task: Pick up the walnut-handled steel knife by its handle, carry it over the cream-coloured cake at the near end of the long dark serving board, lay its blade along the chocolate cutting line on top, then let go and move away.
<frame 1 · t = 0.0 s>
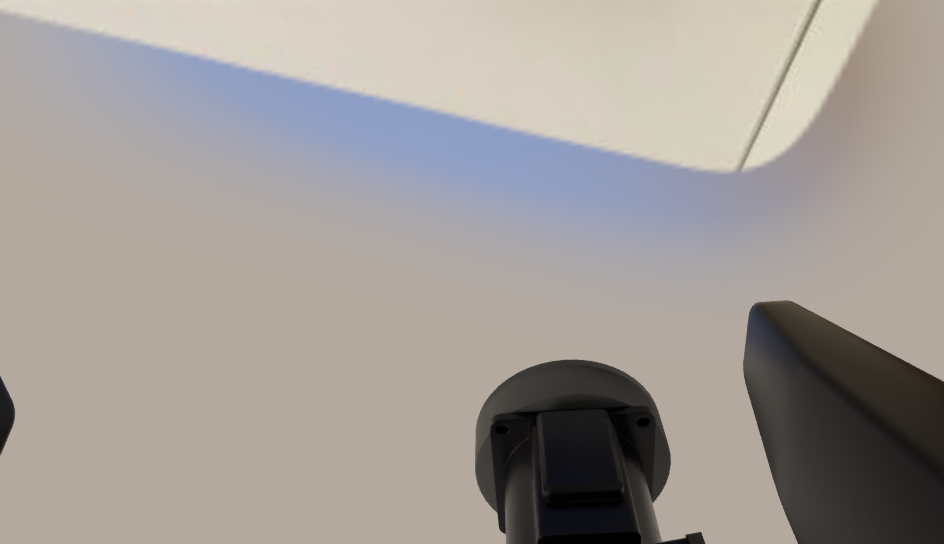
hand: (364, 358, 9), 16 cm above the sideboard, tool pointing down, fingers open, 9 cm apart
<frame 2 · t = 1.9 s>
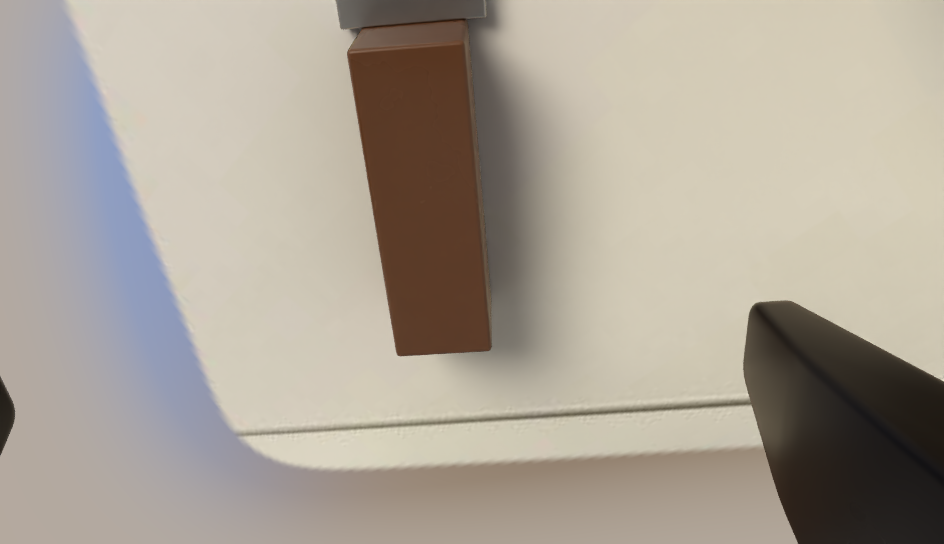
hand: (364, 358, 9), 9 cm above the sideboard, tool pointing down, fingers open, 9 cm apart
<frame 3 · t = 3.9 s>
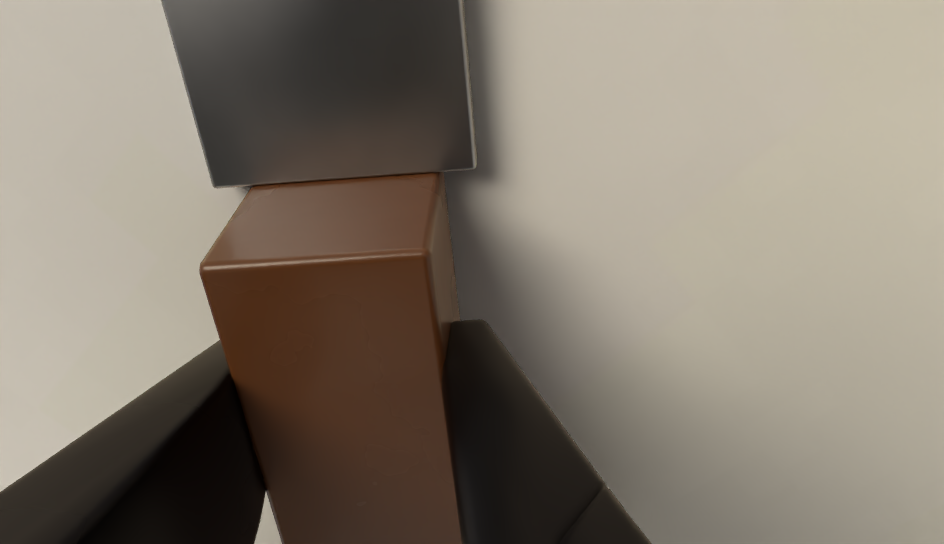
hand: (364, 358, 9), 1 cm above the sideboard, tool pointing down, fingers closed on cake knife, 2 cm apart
cake knife: (341, 125, 9), on the sideboard, touching gripper
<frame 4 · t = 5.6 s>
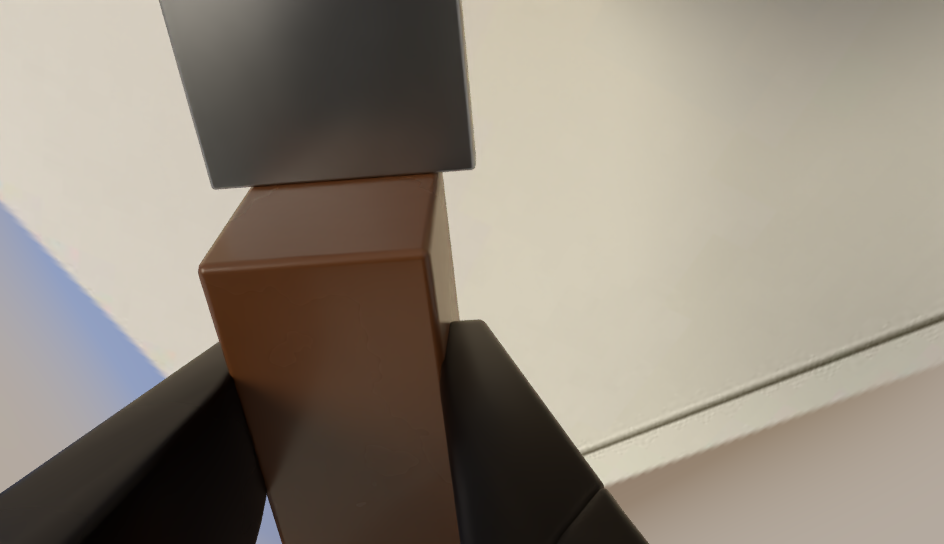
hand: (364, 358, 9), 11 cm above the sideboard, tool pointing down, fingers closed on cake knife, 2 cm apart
cake knife: (340, 126, 9), point 10 cm above the sideboard, touching gripper
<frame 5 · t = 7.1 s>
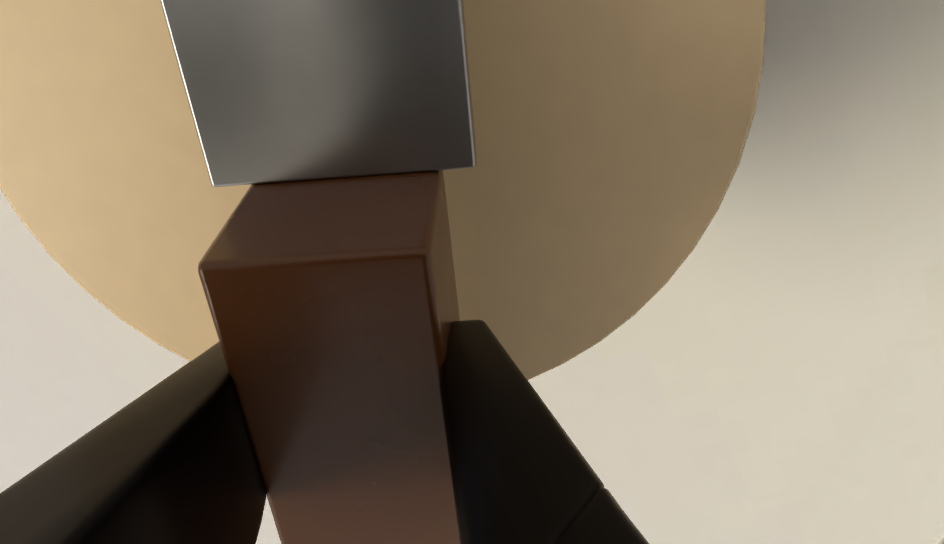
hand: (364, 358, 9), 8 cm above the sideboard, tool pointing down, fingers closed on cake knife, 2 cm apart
cake: (394, 12, 14), resting on serving board
cake knife: (340, 124, 9), point 7 cm above the sideboard, touching gripper
when the fingers open (8 cm above the sideboard, at t = 7.5 s): cake knife stays where it is, resting on cake.
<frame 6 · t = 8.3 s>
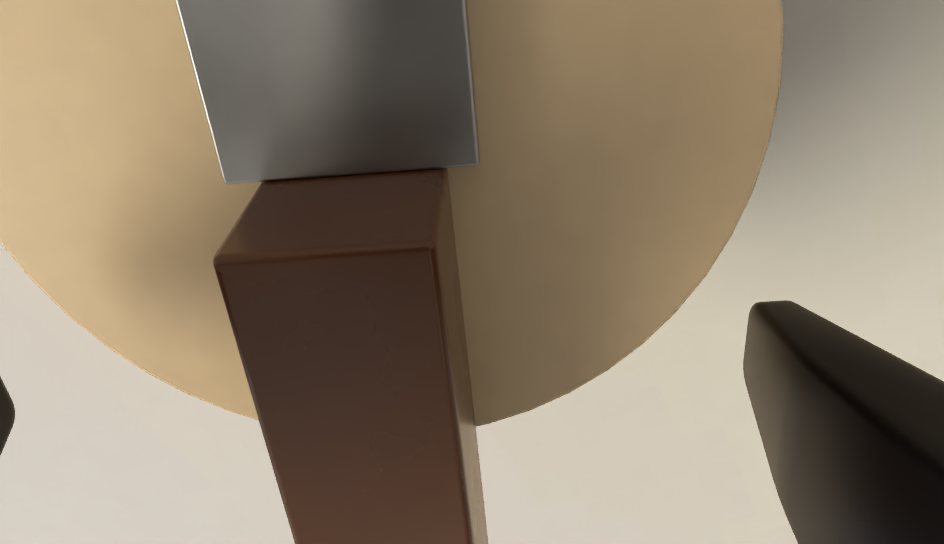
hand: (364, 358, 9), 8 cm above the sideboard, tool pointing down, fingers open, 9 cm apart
cake: (393, 25, 13), resting on serving board
cake knife: (348, 123, 9), point 7 cm above the sideboard, touching cake
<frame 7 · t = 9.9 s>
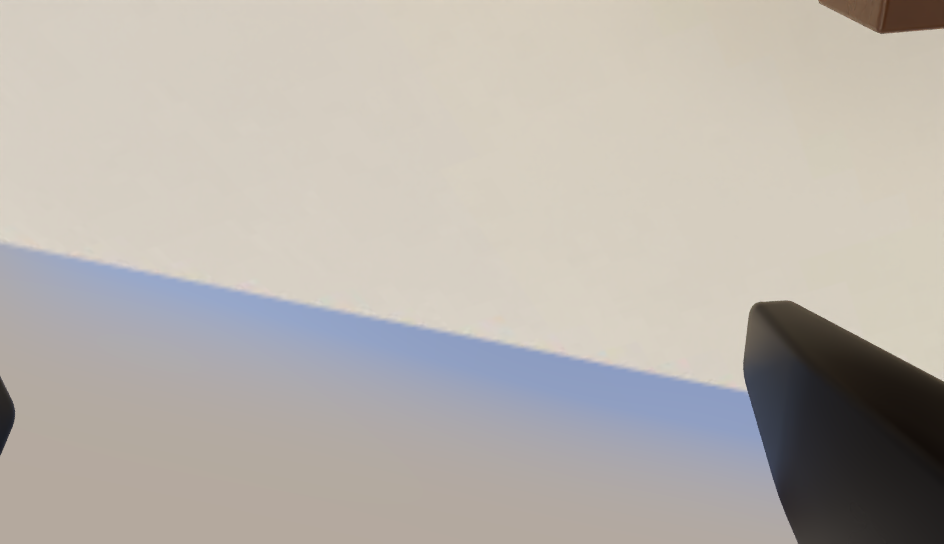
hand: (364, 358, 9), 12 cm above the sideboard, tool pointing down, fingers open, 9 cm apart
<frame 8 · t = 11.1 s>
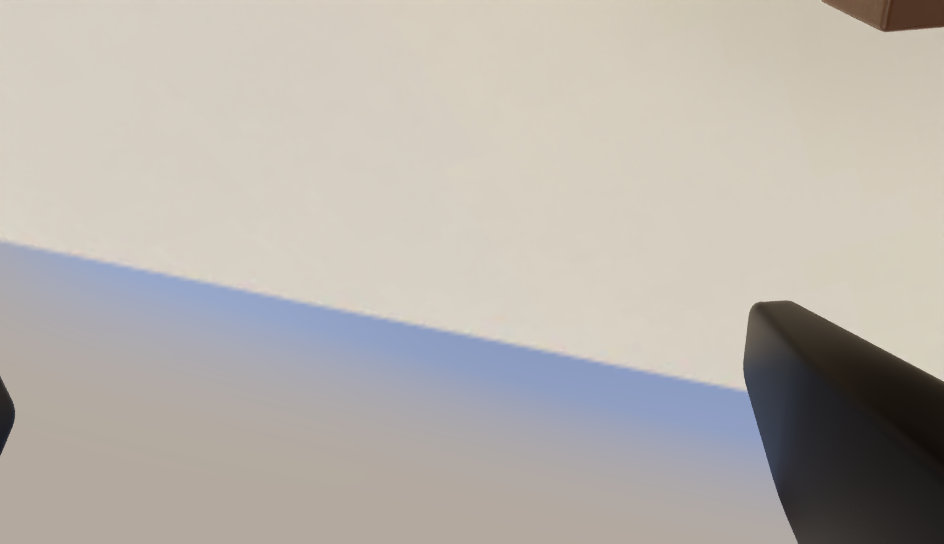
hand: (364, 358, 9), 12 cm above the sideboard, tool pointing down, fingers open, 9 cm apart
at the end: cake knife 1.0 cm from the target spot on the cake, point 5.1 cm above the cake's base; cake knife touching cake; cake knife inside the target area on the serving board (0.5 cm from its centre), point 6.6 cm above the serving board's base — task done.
